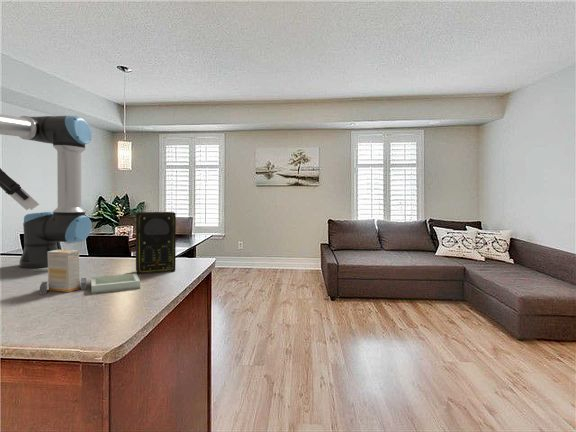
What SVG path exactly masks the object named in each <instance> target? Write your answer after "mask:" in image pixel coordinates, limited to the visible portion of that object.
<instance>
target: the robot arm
mask: <svg viewBox="0 0 576 432" xmlns="http://www.w3.org/2000/svg"><path fill="white" fill-rule="evenodd" d="M91 130H92V129H91V127H90V125H89V124H88V122H87V121H86V120H85V119H84V118H82V117H80V116H77V115H75V116H74V115H44V116H42V115H41V116H28V115H21V116H13V115H8V114H7V115H6V114H1V113H0V135H1V136H2V135H4V136H13V137H19V138H20V139H22V140H26V141H33V142H34V141H35V142H37V143H44V144H45V143H46V144H50V145H52V147H53V148H54V149H55V150H56V152H57V159H56V160H57V169H56V170H57V171H56V172H57V207H56V208H55V209H54V210H53V211H41V212H32V213H27V214H25V215H24V217H23V223H22V225H23V246H24V248H23V251H22V254H21V257H20V259H19V262H18V263H19V267H20V268H25V269H37V268H48V251H53V250H59V248H58V242H59V243H60V242H61V243H68V244H69V243H81V242H83V241H85V240H86V239H87V238H88V237H89V235H90V234H91V232H92V227H93V225H92V221H91V219H90V218H89V216H88V215H86V211H85V210H84V208H83V207H82V153H83V152H84V151H85V150H86V145H88V144H89V143H90V142H91V140H92V138H93V137H92V136H93V135H92V131H91ZM0 189H2V190H3V191H4V192H5V193H6V194H7V195H8V196H10V197H11V199H13V200H14V201H15V202H17V204H19V205H20V206H21V207H23V209H25V211H28V210H31V211H32V210H33V209H35V208H36V207H37V206H39V205H40V203H38V202H37V200H35V199H34V198H33V197H32V196H31V195H30V194H28V192H26V190H24V189H23V188H22V187H21V185H20V184H19V183H17V182H16V181H15V180H14V179H13V178H11V177H10V176H9V175H8V174H7V173H6V172H5V171H4V170H3V169H1V167H0Z"/></svg>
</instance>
